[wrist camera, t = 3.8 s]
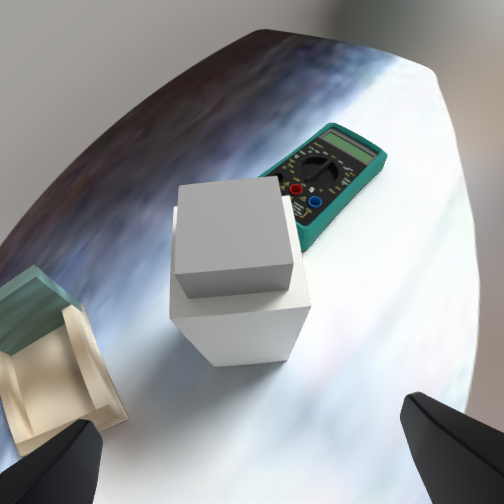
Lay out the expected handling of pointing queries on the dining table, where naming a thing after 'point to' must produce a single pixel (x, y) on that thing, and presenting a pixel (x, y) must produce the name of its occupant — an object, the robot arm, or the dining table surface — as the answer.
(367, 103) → the dining table surface
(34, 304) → the tray
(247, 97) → the dining table surface
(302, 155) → the digital multimeter
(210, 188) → the connector plug
